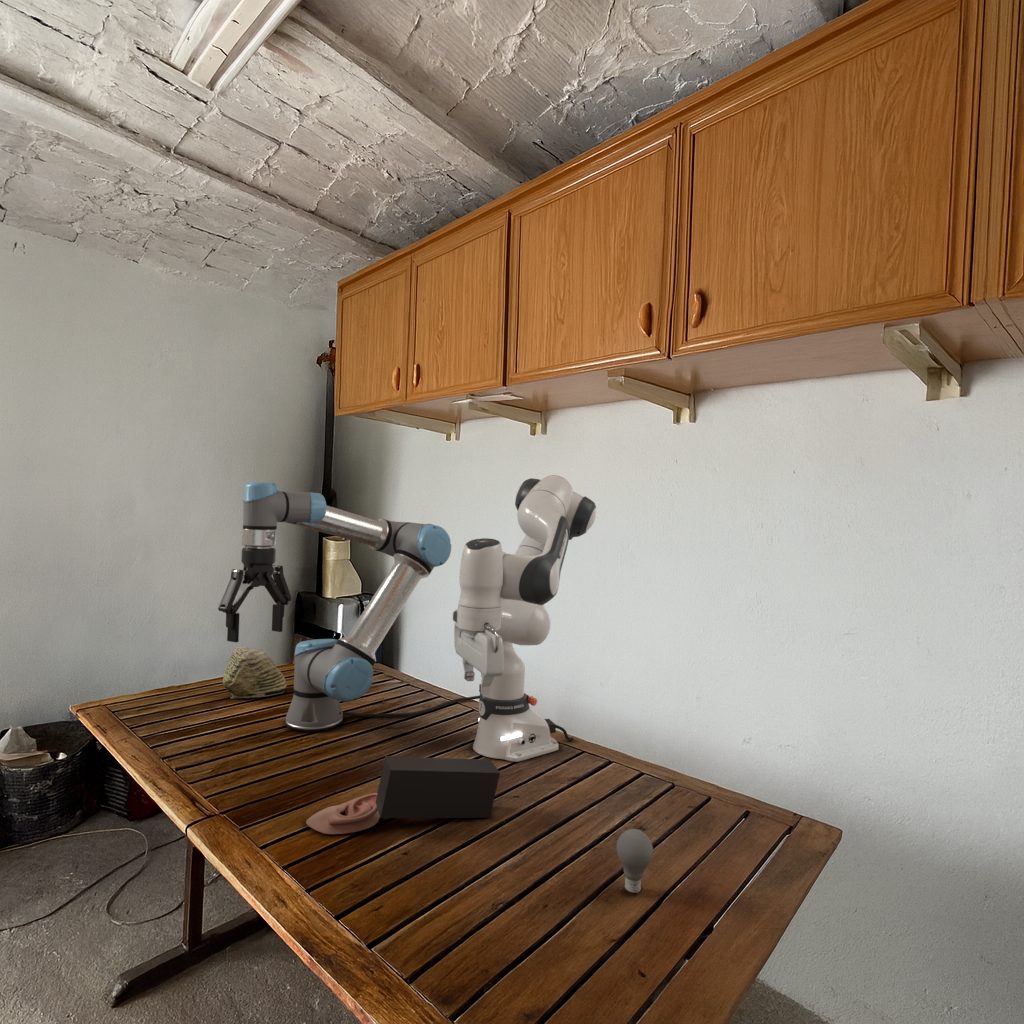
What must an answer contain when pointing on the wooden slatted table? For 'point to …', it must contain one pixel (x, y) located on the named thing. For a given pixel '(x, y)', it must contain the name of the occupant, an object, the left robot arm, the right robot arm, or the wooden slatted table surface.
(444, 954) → the wooden slatted table surface
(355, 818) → the anatomical model
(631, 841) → the light bulb
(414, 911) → the wooden slatted table surface
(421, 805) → the bar
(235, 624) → the left robot arm
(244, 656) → the fossil
